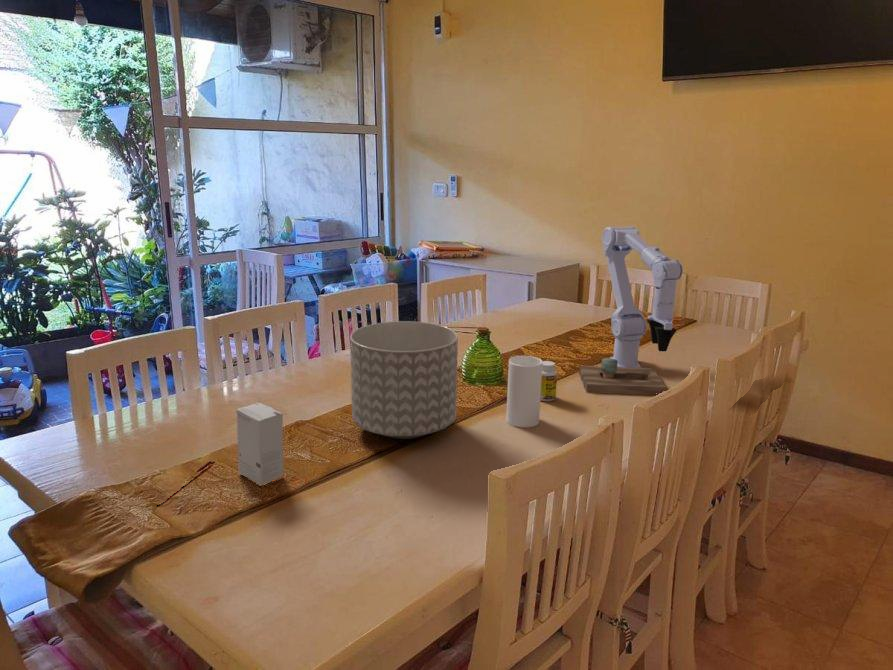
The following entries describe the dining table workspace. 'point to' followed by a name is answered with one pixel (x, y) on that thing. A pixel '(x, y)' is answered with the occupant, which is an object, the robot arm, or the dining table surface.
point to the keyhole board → (622, 380)
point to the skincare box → (260, 443)
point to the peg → (609, 367)
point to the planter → (404, 378)
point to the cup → (524, 391)
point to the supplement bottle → (548, 381)
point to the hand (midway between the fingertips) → (659, 347)
